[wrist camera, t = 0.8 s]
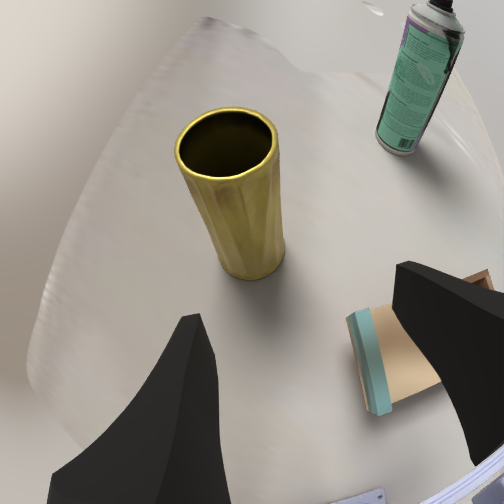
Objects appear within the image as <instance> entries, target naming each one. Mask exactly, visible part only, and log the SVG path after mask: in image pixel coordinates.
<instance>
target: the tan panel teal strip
mask: <svg viewBox="0 0 504 504" xmlns="http://www.w3.org/2000/svg"><path fill="white" fill-rule="evenodd" d="M346 322H347V325H348V329H349V333H350V337H351V341H352V345H353V350H354V354H355V358H356V362H357V367H358V371H359V376H360V380H361V385H362V390H363V394H364V399H365V404H366V410H367V411H369V412H371V413H373V414H375V415H377V416H381V415H383V414H386V413H389V412H391V411H393V410H392V404H391V403H394V402H396V401H399V400H401V399H404V398H406V397H408V396H411V395H413V394H415V393H418V392H420V391H422V390H424V389H426V388H429V387H431V386H433V385H435V384H437V383H439V382H441V380H440V378H439V376H438V374H437V373H436V371H435V370H434V368H433V367H432V366H431V364H430V363H429V362H428V360H427V359H426V358H425V356H424V355H423V354H422V352H421V351H420V350H419V348H418V347H417V346H416V345H415V343H414V342H413V341H412V339H411V338H410V337H409V335H408V334H407V333H406V331H405V330H404V329H403V327H402V325H401V324H400V322H399V320H398V319H397V317H396V315H395V313H394V311H393V310H392V304H389V305H385V306H382V307H379V308H376V309H372V310H370V309H369V308H366V309H363V310H360V311H356V312H354V313H352V314H351V315H349V316H348V317H346Z"/></svg>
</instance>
